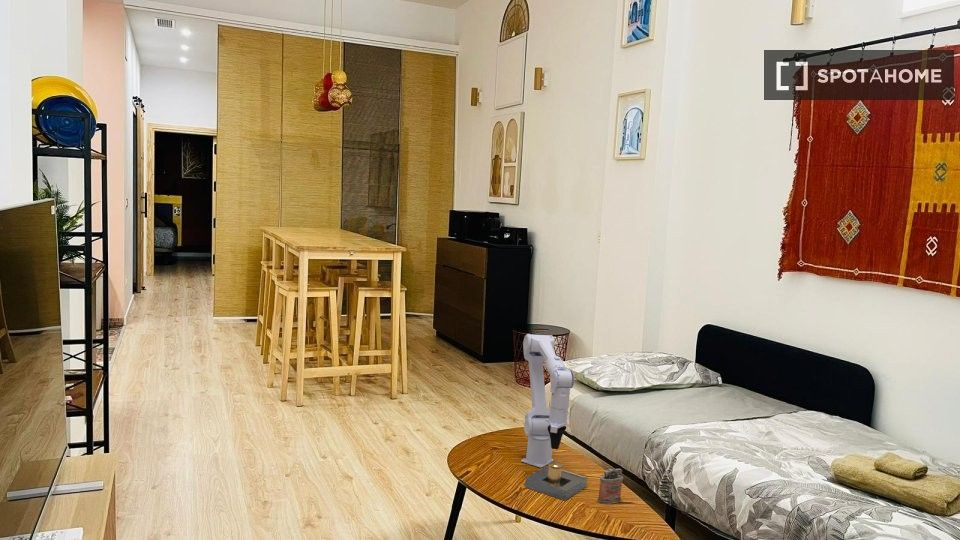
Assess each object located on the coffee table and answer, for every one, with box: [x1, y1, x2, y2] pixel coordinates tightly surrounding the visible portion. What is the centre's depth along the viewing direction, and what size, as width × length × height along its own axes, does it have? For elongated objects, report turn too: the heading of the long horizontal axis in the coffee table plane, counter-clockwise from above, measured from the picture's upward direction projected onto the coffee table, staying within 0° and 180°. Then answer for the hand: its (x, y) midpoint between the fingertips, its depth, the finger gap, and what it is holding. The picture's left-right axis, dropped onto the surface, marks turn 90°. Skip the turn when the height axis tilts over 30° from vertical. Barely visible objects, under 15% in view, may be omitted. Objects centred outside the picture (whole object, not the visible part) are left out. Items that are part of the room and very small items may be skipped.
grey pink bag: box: [597, 468, 624, 505], centre depth 223 cm, size 8×3×10 cm, turn 117°
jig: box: [524, 464, 588, 501], centre depth 231 cm, size 15×14×3 cm
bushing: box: [547, 461, 564, 486], centre depth 228 cm, size 4×4×8 cm
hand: (554, 448), depth 235 cm, fingers closed
